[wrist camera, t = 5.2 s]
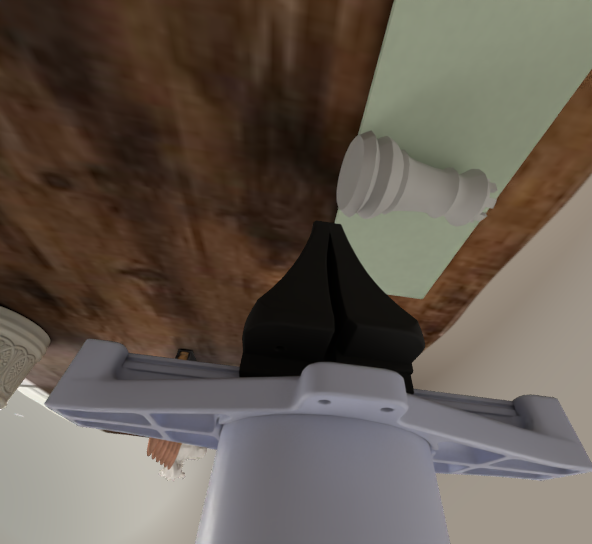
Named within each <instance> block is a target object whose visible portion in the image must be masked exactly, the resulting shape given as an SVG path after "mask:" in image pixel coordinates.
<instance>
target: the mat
mask: <svg viewBox="0 0 592 544" xmlns="http://www.w3.org/2000/svg"><path fill="white" fill-rule="evenodd" d="M591 69H592V0H394V2H393V6H392V10H391V13H390V17H389V21H388V25H387V28H386V32H385V36H384V40H383V43H382V47H381V51H380V55H379V58H378V62H377V66H376V69H375V73H374V77H373V81H372V84H371V88H370V92H369V96H368V99H367V103H366V107H365V111H364V114H363V118H362V122H361V125H360V129H359V133H358V135H361V134H363V133H365V132H368V131H371V130H372V131H373V133H374V134H375V136H376V138H377V139H379V138H380V137H384V136H389V137H390V138H392V139H393V140H394V141H395V142H396V143H397V144H398V146H399V148H400V150H405V151H406V152H407V154H408V156H409V157H411V158H413V159H414V160H417V161H419V162H422V163H424V164H426V165H429V166H431V167H434V168H438V169H442V170H443V169H445V168H454V169H455V170H456V171H457V172H458V174H462V173H464V172H466V171H468V170H470V169H480V170H481V171H482V172H484V173H485V174H486V177H487V179H491V180H490V182H491V183H496V187H497V190H498V191H496V192H494V193H490V198H493V199H496V198H497V197H498V196H499V194H500V193H501V192H502V190H503V189H504V188H505V186H506V185H507V183H508V182H509V181H510V179H511V178H512V177H513V175H514V174H515V173H516V171H517V170H518V168H519V167H520V166H521V164H522V163H523V162H524V160H525V159H526V158H527V156H528V155H529V153H530V152H531V151H532V149H533V148H534V147H535V145H536V144H537V143H538V141H539V140H540V138H541V137H542V136H543V134H544V133H545V132H546V130H547V129H548V128H549V126H550V125H551V124H552V122H553V121H554V119H555V118H556V117H557V115H558V114H559V113H560V111H561V110H562V109H563V107H564V106H565V104H566V103H567V102H568V100H569V99H570V98H571V96H572V95H573V94H574V92H575V91H576V89H577V88H578V87H579V85H580V84H581V83H582V81H583V80H584V79H585V77H586V76H587V74H588V73H589V72H590V70H591ZM488 209H489V208H488V207H485V209H484V210H483V211H482V212H484V213H486V212H487V211H488ZM479 222H480V221H476V220H474V222H473V223H471V222H469V223H467V224H466V225H462V226H458V227H456V226H453V225H450V224H449V222H448V221H447V220H446V218H445V217H444V216H441V217H438V218H432V217H430V216H429V215H428V214H427V213H424V212H416V211H391V212H389V213H387V214H385V215H384V214H382V213H381V214H379V215H377V216H375V217H373V218H370V219H364V218H362V217H360V216H359V215H358V213H356V214H355V215H353V216H351V217H350V218H349V217H348V216H346V215H345V214H344V213H343V212H342V211H341V210H340V209H339V208H338V211H337V215H336V219H335V223H336V224H341V225H342V227H343V230H344V232H345V234H346V236H347V239H348V241H349V243H350V245H351V247H352V248H353V250H354V252H355V254H356V256H357V257H358V259H359V261H360V262H361V264H362V265H363V267H364V268H365V270H366V271H367V273H368V274H369V275H370V277H371V278H372V279H373V280H374V282H375V283H376V284H377V285H378V286H379V287H380V288H381V289H382V290H383V291H384V292H385V293H386V294H389V295H396V296H404V297H411V298H418V299H423V298H424V296H425V295H426V294H427V292H428V291H429V290H430V288H431V287H432V286H433V284H434V283H435V281H436V280H437V279H438V277H439V276H440V275H441V273H442V272H443V271H444V269H445V268H446V266H447V265H448V264H449V262H450V261H451V260H452V258H453V257H454V256H455V254H456V253H457V251H458V250H459V249H460V247H461V246H462V245H463V243H464V242H465V241H466V239H467V238H468V237H469V235H470V234H471V232H472V231H473V230H474V228H475V227H476V226H477V224H478V223H479Z"/></svg>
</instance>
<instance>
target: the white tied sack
mask: <svg viewBox="0 0 592 544" xmlns="http://www.w3.org/2000/svg"><path fill="white" fill-rule="evenodd" d="M206 451H207V448H205V447H199V446H194V445H189V444H183V443H182V445H181V447H180V450H179V453H178V455H177V458H176V460H175V462H174V463H173V465H172V467H171V468H170V469H169V470H168V465H167V466H166V467H164V469H163V470H161V471H160V472H159V476H164V477H166V480H167V481H168V480H172V481H174V479H175V478H179V477H181V478H183V479H184V478H185V473H183V472H182V470H181V469H182V467H183V465H184V464H182V463H183V462H184V461H185V460H187V459H188V460H196V459H200V458H202V457H203V456H205V454H206Z"/></svg>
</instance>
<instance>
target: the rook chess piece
mask: <svg viewBox="0 0 592 544" xmlns="http://www.w3.org/2000/svg"><path fill="white" fill-rule="evenodd" d="M490 180H491V179H487V177H486V174H485V173H484V172H482V171H481V170H480V169H470V170H468V171H466V172H464V173H462V174H458V172H457V171H456V170H455V169H454V168H445V169H443V170H442V169H438V168H434V167H431V166H429V165H426V164H424V163H422V162H419V161H417V160H414V159H413V158H411V157H409V156H408V154H407V152H406V151H405V150H400V148H399V146H398V144H397V143H396V142H395V141H394V140H393V139H392V138H390V137H389V136H384V137H380V138H379V139H377V138H376V136H375V134H374V133H373V131H372V130H371V131H368V132H365V133H363V134H361V135H358V136H356V137H355V138H354V140H353V141H352V142H351V143H350V146H349V148H348V150H347V152H346V154H345V157H344V160H343V163H342V166H341V170H340V174H339V179H338V186H337V204H338V207H339V209H340V210H341V211H342V212H343V213H344V214H345V215H346V216H348V217H349V218H350V217H351V216H353V215H355V214H356V213H358V215H359V216H360V217H362V218H364V219H370V218H373V217H375V216H377V215H379V214H381V213H382V214H384V215H385V214H387V213H389V212H391V211H416V212H424V213H427V214H428V215H429V216H430V217H432V218H438V217H441V216H444V217H445V218H446V220H447V221H448V222H449V224H450V225H453V226H456V227H458V226H462V225H466V224H467V223H469V222H471V223H473V222H474V220H476V221H481V220H482V219H484V218H485V217H487V215H486V214H485V213H484V212H482V211H483V210H484V209H485V207H488V208H493V207H494V205H495V203H496V200H497V199H493V198H490V193H494V192H496V191H498V190H497V187H496V183H491V182H490Z"/></svg>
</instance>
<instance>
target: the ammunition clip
mask: <svg viewBox="0 0 592 544" xmlns="http://www.w3.org/2000/svg"><path fill="white" fill-rule="evenodd" d="M175 359H181V360H189V361H196V358H195V356H194V353H193V351H189V350H180V349H179V350H178V352H177V355H176V357H175ZM181 445H182V443H178V442H173V441H167V440H162V439H157V438H151V437H150V438H149V443H148V448H147V456H150V455H151V453H152V459H154V458H155V457H156V462H158V461H159V460H160V464H161V465H162V464H163V463H164V467H166V466H167V465H168V470H169V469H170V468H171V467H172V465H173V463H174V462H175V460H176V458H177V455H178V453H179V450H180V447H181Z"/></svg>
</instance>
